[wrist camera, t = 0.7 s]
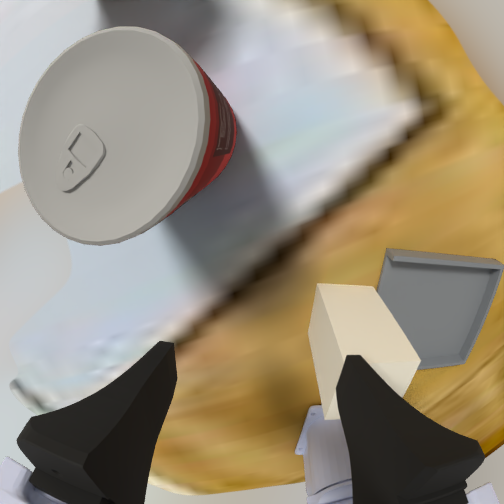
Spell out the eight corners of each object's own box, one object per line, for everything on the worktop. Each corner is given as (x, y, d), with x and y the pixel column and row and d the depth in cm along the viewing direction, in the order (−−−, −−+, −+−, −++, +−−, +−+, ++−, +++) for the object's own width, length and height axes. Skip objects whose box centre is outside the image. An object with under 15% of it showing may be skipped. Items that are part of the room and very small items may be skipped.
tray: (458, 355, 24) (464, 363, 23) (354, 362, 24) (358, 373, 23) (495, 259, 20) (504, 265, 19) (386, 248, 20) (394, 255, 19)
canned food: (111, 166, 19) (0, 195, 9) (160, 65, 17) (70, 8, 6) (201, 214, 20) (142, 288, 10) (259, 110, 18) (255, 67, 7)
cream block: (359, 334, 23) (393, 414, 15) (307, 333, 23) (324, 419, 15) (372, 286, 22) (420, 360, 13) (317, 283, 22) (344, 363, 13)
